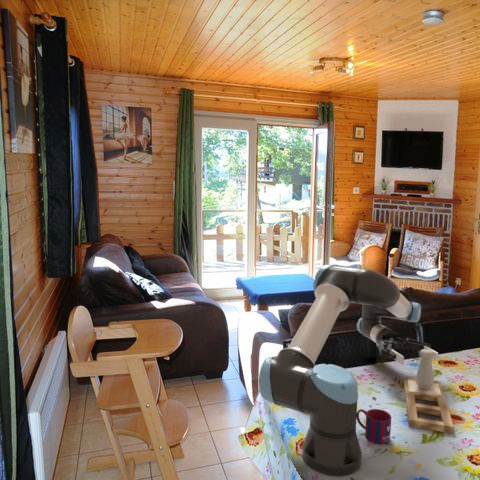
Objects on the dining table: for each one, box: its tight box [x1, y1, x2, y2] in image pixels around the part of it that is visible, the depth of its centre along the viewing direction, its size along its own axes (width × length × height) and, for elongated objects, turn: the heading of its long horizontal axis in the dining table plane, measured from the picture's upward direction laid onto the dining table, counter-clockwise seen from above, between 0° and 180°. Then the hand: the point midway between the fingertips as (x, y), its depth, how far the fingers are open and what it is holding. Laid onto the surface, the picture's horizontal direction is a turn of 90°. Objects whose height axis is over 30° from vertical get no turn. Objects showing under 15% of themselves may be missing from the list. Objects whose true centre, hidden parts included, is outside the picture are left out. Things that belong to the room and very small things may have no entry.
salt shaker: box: [414, 349, 435, 390], centre depth 150 cm, size 6×6×13 cm
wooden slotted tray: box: [403, 376, 455, 434], centre depth 143 cm, size 12×30×2 cm, turn 162°
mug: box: [356, 408, 392, 445], centre depth 126 cm, size 7×10×7 cm
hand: (420, 358), depth 152 cm, fingers open, 13 cm apart
